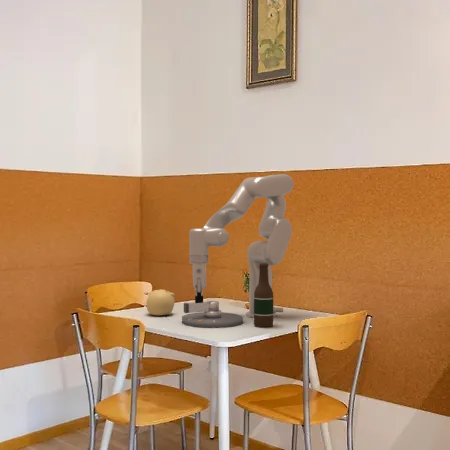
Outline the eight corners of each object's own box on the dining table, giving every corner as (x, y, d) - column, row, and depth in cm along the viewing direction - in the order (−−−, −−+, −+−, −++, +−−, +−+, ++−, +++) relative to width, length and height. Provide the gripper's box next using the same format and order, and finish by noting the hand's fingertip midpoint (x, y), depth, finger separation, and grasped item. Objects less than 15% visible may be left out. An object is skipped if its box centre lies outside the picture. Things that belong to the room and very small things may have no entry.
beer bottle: (258, 328, 231) (259, 264, 231) (249, 324, 238) (250, 262, 238) (277, 326, 234) (277, 263, 234) (267, 323, 241) (268, 262, 241)
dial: (217, 314, 248) (217, 300, 248) (224, 317, 242) (224, 302, 242) (181, 316, 242) (181, 302, 242) (187, 319, 236) (187, 304, 236)
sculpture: (176, 313, 265) (177, 288, 265) (169, 317, 253) (169, 291, 253) (151, 312, 267) (151, 287, 267) (142, 316, 255) (142, 290, 255)
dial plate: (239, 316, 257) (239, 311, 257) (246, 327, 233) (246, 321, 233) (181, 317, 255) (181, 311, 255) (182, 328, 231) (182, 322, 231)
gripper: (208, 261, 237) (208, 309, 237) (208, 258, 252) (208, 303, 252) (189, 261, 236) (189, 309, 237) (189, 258, 251) (190, 303, 252)
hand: (199, 306), depth 244 cm, fingers closed
